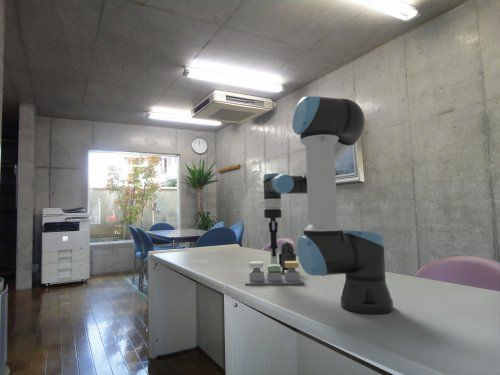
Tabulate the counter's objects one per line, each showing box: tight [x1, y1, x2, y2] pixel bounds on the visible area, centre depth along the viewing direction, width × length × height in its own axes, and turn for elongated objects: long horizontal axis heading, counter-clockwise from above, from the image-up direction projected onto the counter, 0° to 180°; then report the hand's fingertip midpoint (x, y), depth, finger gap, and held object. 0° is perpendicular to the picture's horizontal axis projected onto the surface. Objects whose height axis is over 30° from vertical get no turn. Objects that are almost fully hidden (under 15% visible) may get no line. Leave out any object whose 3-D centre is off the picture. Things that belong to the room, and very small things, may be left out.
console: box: [244, 269, 306, 286], centre depth 138 cm, size 24×16×4 cm, turn 87°
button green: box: [267, 263, 282, 272], centre depth 138 cm, size 6×6×5 cm
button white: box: [249, 260, 264, 273], centre depth 139 cm, size 6×6×5 cm
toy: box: [278, 241, 297, 275], centre depth 156 cm, size 8×6×15 cm
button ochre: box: [285, 260, 300, 272], centre depth 138 cm, size 6×6×5 cm
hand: (274, 263), depth 138 cm, fingers closed
